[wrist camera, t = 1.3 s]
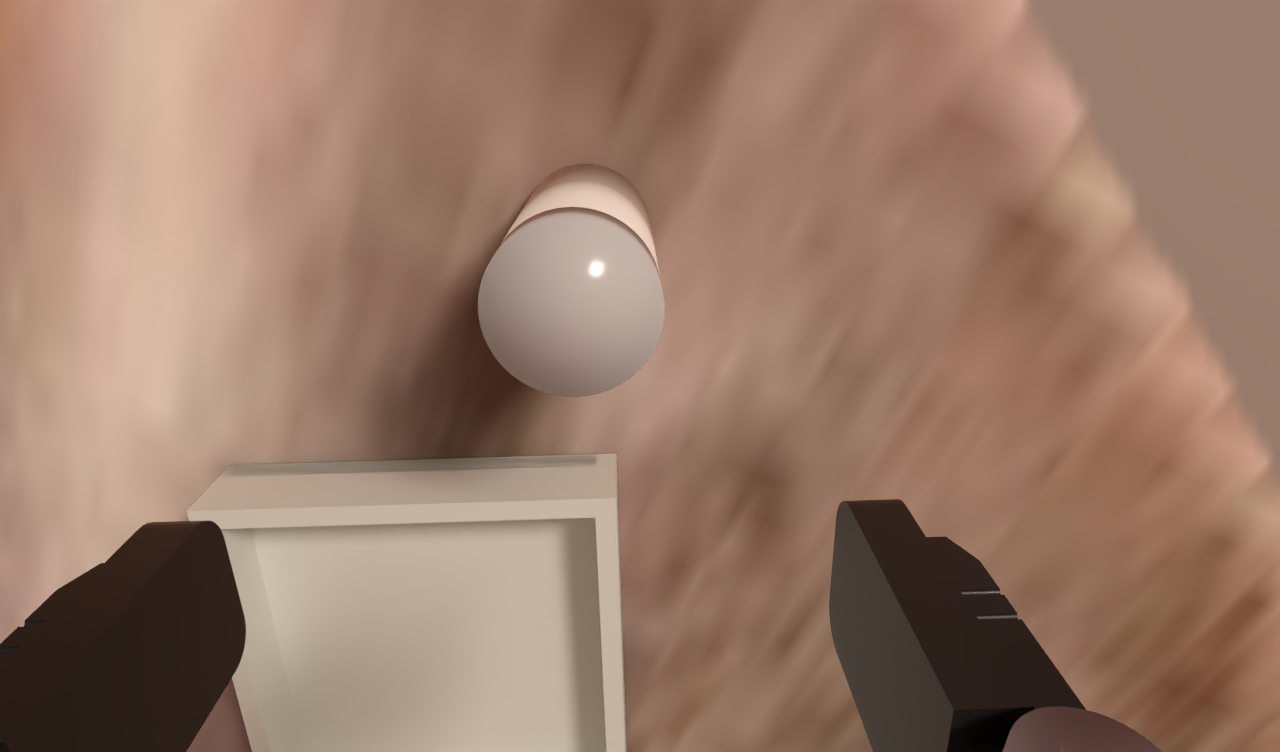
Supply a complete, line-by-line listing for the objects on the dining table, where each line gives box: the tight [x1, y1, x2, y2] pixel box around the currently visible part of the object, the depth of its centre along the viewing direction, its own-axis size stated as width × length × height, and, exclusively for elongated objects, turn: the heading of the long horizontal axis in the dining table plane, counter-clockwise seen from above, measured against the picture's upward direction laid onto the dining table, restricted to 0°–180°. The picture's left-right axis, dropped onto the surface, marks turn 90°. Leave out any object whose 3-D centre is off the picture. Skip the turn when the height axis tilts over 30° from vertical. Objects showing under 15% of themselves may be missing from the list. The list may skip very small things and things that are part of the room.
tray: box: [187, 454, 627, 752], centre depth 34 cm, size 16×18×4 cm
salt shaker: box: [478, 164, 665, 397], centre depth 24 cm, size 5×5×10 cm
